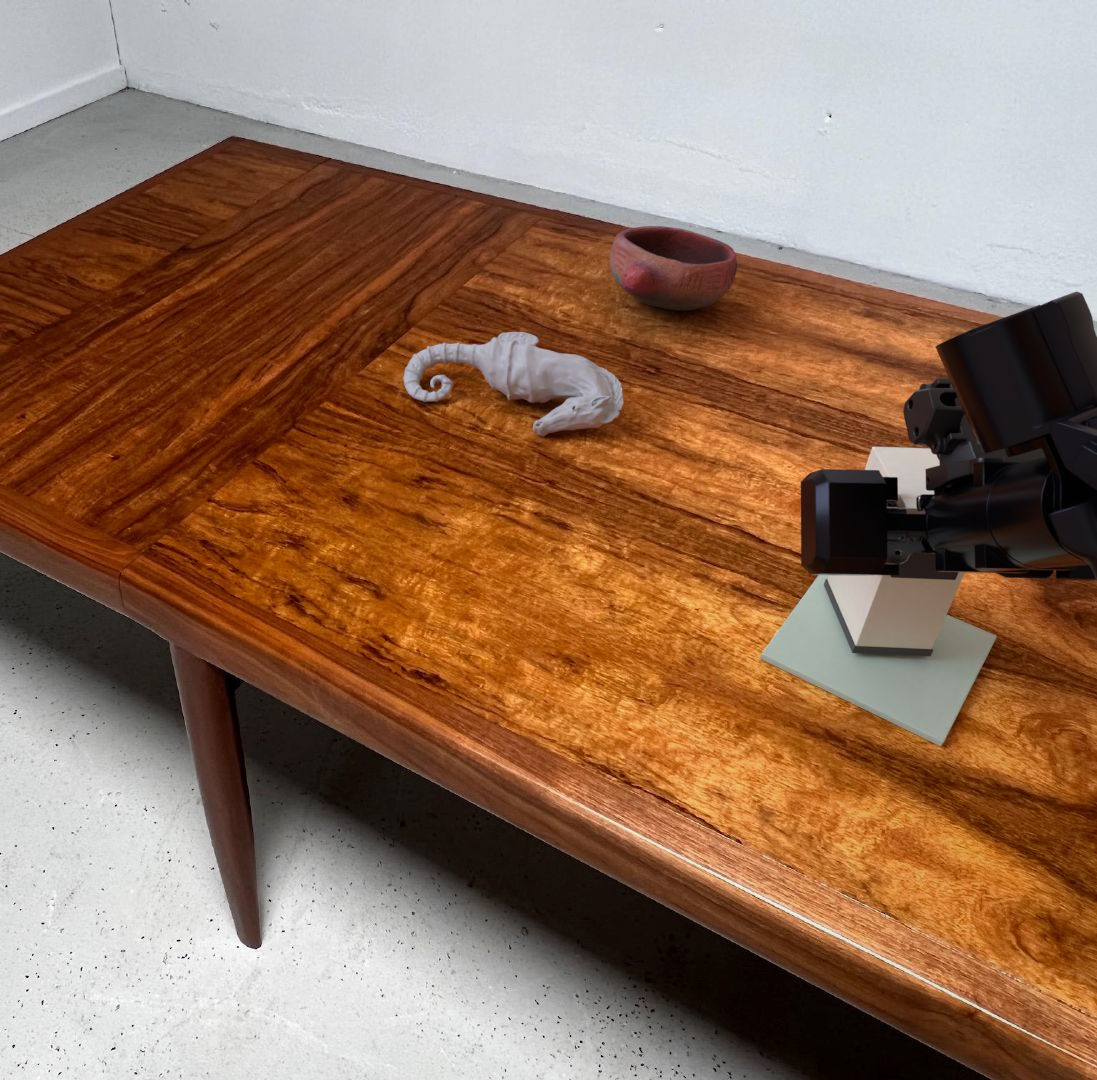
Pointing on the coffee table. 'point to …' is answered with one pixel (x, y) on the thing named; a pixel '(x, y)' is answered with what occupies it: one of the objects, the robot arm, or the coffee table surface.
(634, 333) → the coffee table surface
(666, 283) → the bowl
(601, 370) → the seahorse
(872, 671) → the mat
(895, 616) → the white tilted block
